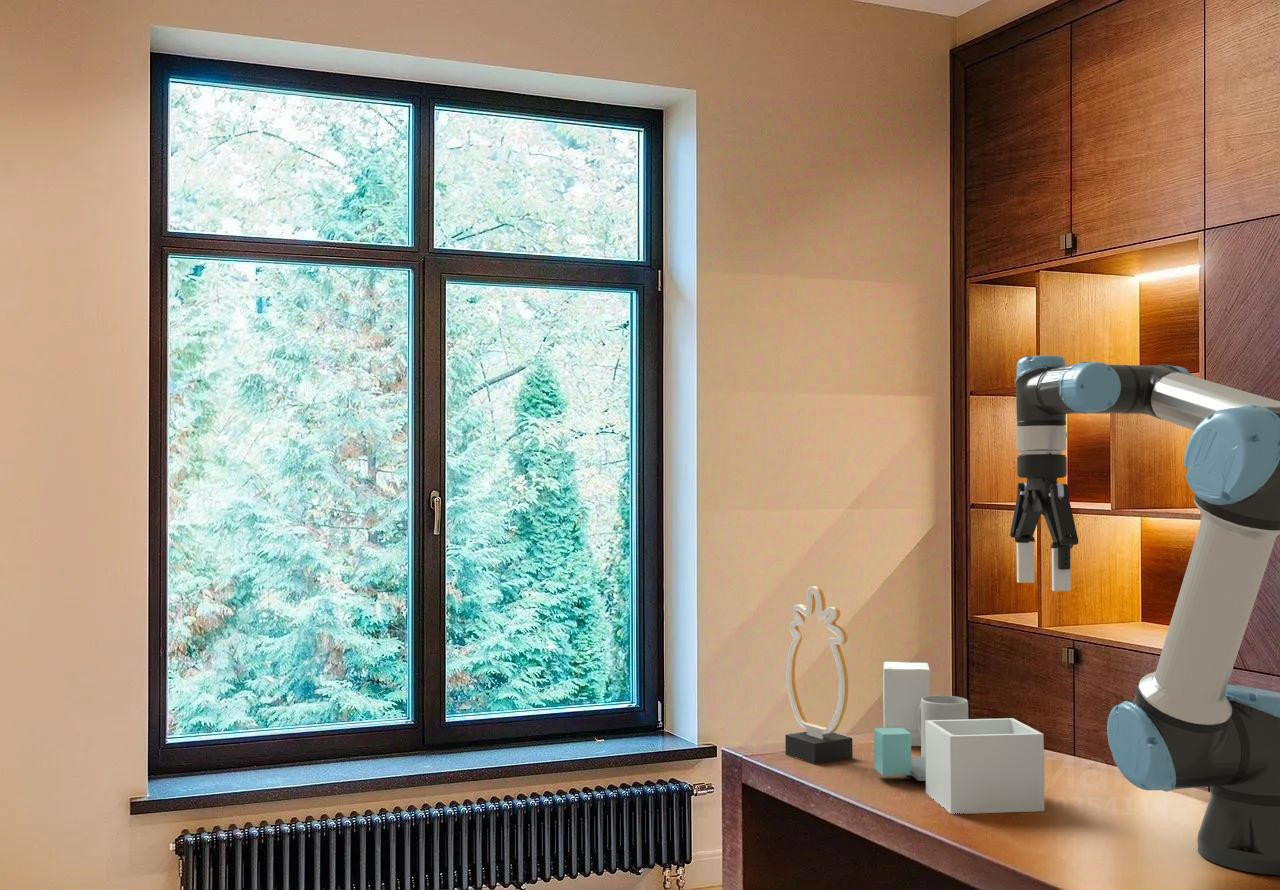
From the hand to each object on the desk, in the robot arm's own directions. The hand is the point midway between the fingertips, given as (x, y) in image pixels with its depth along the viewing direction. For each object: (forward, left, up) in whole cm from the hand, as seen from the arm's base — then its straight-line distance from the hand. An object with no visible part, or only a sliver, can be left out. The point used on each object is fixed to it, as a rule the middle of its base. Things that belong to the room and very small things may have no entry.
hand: (1043, 586), depth 194 cm
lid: (+18, +12, -35) cm, 41 cm away
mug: (+33, +6, -35) cm, 48 cm away
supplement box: (+46, +8, -35) cm, 58 cm away
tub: (+3, +9, -35) cm, 36 cm away
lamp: (+36, +28, -35) cm, 57 cm away
